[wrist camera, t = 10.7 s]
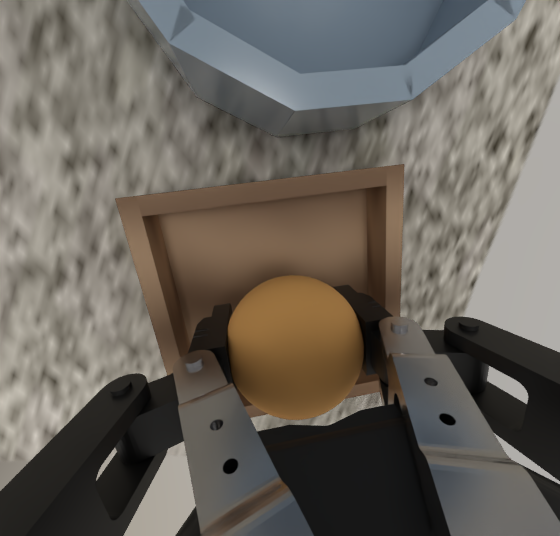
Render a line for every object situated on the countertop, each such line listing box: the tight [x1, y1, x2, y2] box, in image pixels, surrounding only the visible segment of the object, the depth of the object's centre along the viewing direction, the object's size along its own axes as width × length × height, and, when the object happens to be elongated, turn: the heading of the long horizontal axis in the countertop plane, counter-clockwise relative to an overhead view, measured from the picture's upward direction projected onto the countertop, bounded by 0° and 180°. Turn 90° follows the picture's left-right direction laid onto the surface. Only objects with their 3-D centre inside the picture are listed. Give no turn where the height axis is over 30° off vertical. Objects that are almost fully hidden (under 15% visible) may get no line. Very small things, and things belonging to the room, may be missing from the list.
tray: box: [115, 164, 404, 418], centre depth 14 cm, size 12×12×3 cm
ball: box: [227, 275, 364, 420], centre depth 10 cm, size 5×5×5 cm
